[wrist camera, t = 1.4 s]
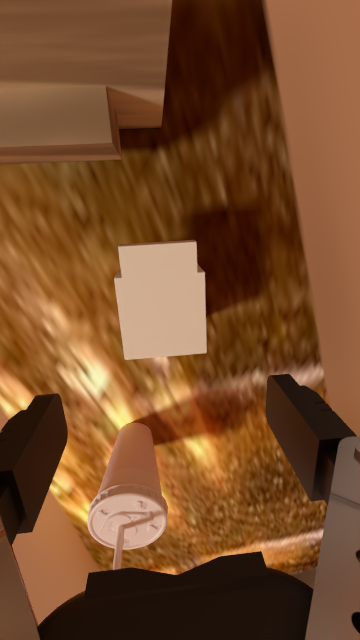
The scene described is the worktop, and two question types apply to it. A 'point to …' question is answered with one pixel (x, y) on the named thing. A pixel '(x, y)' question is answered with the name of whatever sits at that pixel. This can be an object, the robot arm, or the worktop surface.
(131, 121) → the cleat board
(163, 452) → the worktop surface
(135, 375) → the worktop surface
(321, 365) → the worktop surface
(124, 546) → the smoothie
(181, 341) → the wall box
